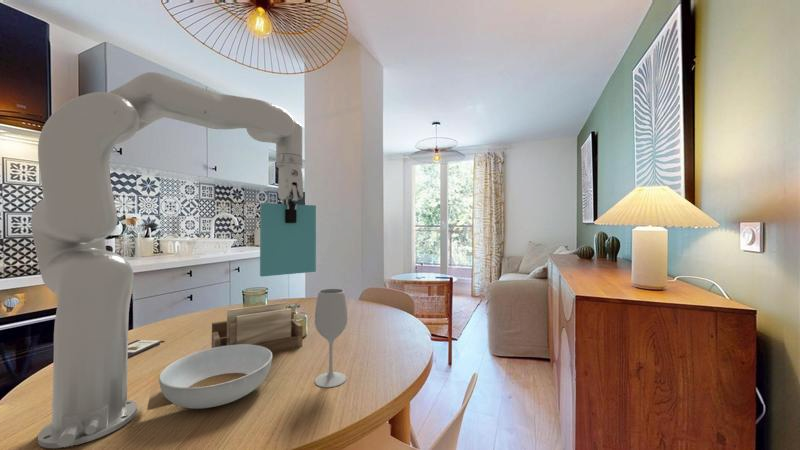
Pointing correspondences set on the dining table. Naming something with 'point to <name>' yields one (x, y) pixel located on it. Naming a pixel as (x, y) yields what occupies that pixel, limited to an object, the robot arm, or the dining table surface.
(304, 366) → the dining table surface
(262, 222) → the teal board
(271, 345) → the walnut rack
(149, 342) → the chocolate bar
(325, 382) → the wineglass
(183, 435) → the dining table surface
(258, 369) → the serving bowl
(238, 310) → the plywood offcuts
